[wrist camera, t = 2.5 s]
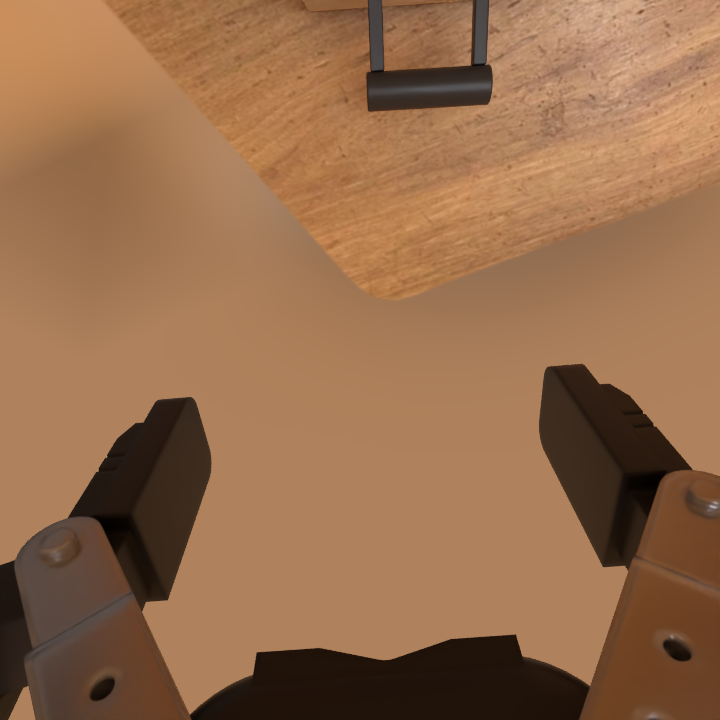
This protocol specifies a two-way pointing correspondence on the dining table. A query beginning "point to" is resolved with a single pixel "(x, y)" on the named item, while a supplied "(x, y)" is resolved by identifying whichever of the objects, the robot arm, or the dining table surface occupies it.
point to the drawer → (426, 83)
